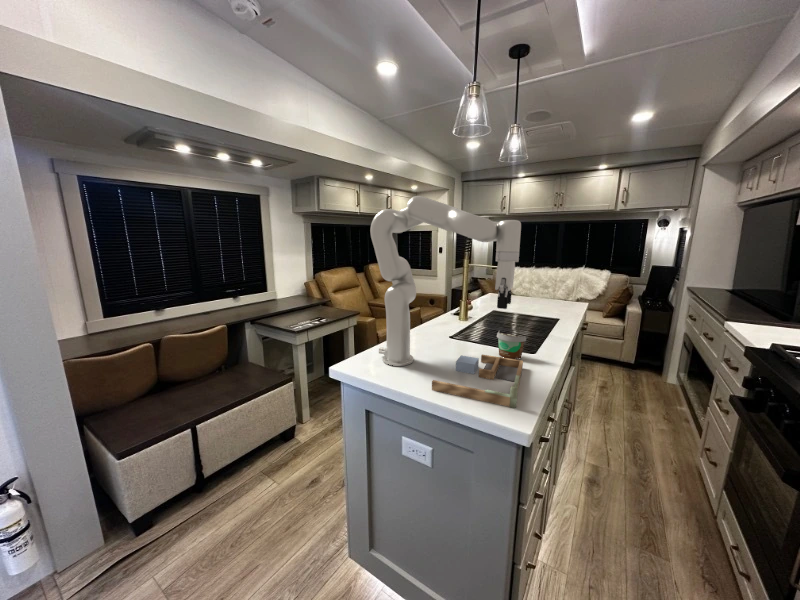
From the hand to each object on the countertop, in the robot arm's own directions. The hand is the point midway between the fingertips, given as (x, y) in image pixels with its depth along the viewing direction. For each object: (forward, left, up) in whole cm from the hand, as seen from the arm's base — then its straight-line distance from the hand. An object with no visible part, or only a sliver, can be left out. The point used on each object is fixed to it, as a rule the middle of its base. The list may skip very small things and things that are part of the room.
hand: (504, 305), depth 108 cm
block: (-12, -1, -26) cm, 29 cm away
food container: (+1, +19, -26) cm, 32 cm away
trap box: (-5, -7, -26) cm, 27 cm away
